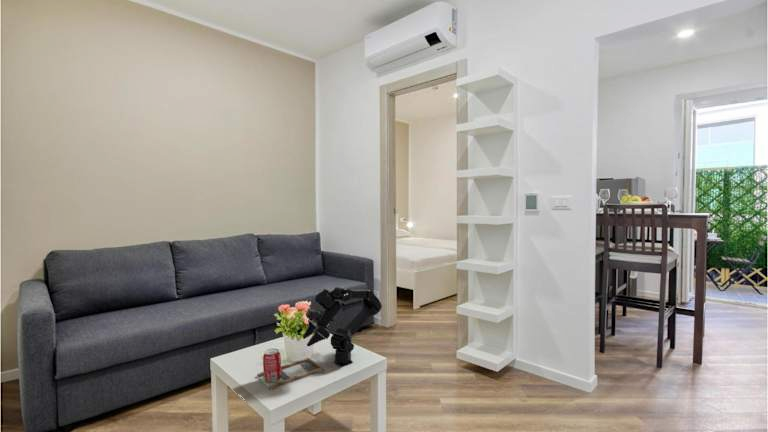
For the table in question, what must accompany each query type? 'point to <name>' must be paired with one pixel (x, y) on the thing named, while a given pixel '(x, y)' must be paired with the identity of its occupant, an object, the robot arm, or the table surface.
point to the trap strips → (305, 365)
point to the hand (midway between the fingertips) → (305, 341)
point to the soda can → (272, 365)
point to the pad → (269, 382)
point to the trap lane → (296, 376)
